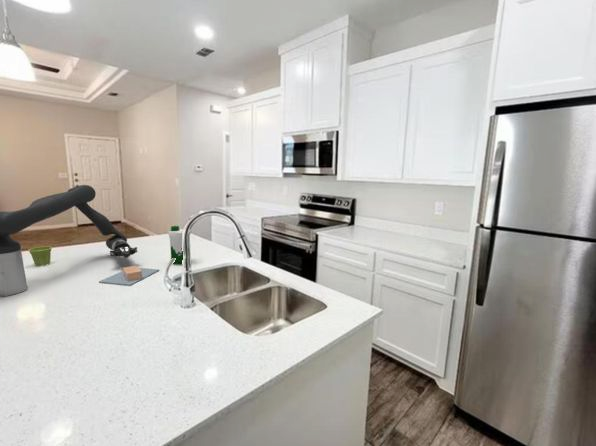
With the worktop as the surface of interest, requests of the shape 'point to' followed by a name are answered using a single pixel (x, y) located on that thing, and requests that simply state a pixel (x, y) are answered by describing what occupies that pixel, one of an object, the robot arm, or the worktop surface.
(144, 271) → the mat
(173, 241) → the milk carton
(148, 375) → the worktop surface
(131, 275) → the terracotta block
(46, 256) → the plant pot
